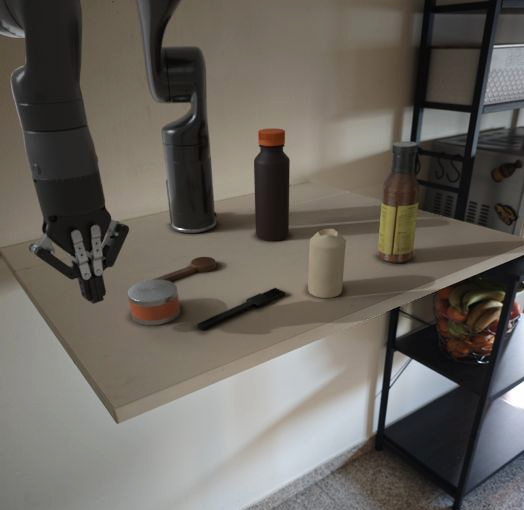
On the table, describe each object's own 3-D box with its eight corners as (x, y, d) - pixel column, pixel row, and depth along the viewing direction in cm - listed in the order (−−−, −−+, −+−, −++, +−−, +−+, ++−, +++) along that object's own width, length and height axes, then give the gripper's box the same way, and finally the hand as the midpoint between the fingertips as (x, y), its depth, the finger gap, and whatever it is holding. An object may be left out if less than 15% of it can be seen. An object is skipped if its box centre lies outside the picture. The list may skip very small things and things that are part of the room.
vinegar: (269, 244, 98) (268, 136, 87) (249, 234, 103) (245, 130, 92) (295, 236, 102) (297, 130, 91) (274, 227, 106) (274, 126, 95)
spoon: (145, 295, 81) (144, 289, 80) (131, 286, 84) (130, 281, 83) (220, 267, 90) (220, 261, 89) (205, 260, 92) (205, 254, 92)
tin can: (123, 313, 76) (118, 289, 74) (163, 297, 80) (159, 275, 78) (148, 331, 72) (144, 306, 69) (189, 313, 76) (186, 289, 73)
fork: (205, 332, 71) (205, 328, 71) (194, 326, 73) (194, 321, 72) (285, 295, 80) (286, 291, 80) (274, 290, 82) (274, 286, 81)
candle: (340, 299, 78) (345, 239, 73) (305, 296, 80) (307, 236, 74) (343, 284, 83) (347, 226, 77) (310, 281, 84) (312, 224, 78)
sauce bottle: (414, 254, 93) (432, 140, 82) (407, 266, 88) (426, 148, 77) (379, 248, 95) (393, 138, 84) (371, 261, 91) (384, 145, 80)
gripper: (101, 154, 64) (124, 277, 74) (-5, 173, 57) (36, 307, 66) (131, 163, 59) (152, 293, 69) (20, 185, 52) (60, 328, 61)
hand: (95, 300), depth 68 cm, fingers closed
